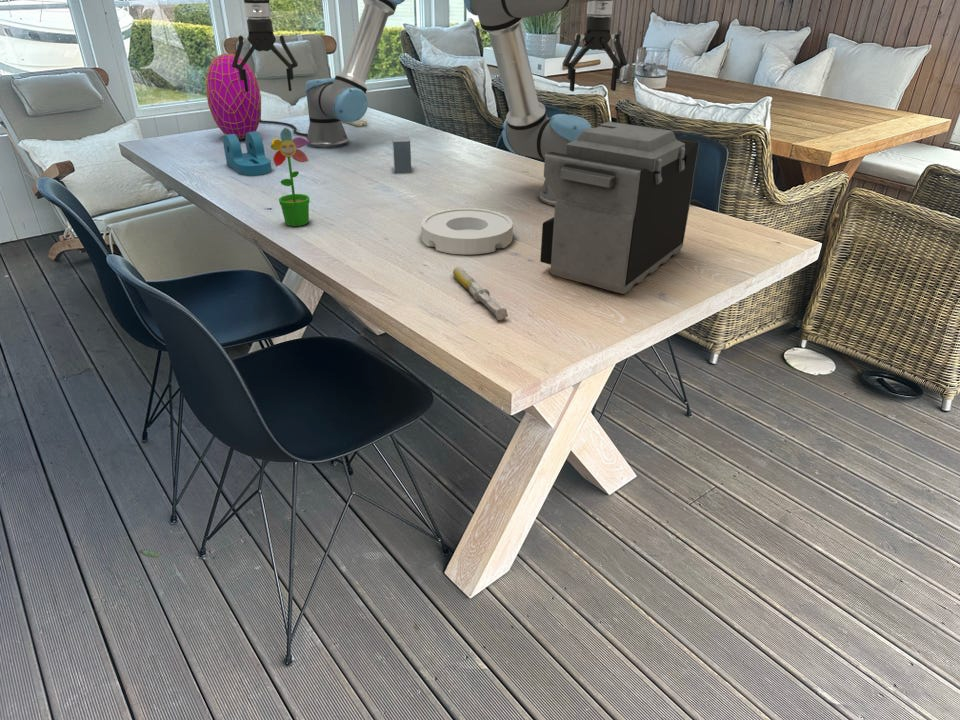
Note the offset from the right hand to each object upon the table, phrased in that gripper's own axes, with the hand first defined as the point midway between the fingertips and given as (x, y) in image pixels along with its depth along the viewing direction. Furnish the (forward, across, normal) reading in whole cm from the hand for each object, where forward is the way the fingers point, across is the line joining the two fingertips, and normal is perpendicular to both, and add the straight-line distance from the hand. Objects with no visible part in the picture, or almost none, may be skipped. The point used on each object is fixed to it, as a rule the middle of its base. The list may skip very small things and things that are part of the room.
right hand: (592, 90), depth 218 cm
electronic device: (+26, -16, -79) cm, 84 cm away
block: (+26, -61, +8) cm, 67 cm away
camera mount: (+26, -111, +15) cm, 115 cm away
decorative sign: (+26, -81, +89) cm, 123 cm away
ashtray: (+26, -48, -58) cm, 80 cm away
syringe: (+26, -51, -94) cm, 109 cm away
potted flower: (+26, -92, -41) cm, 104 cm away
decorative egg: (+26, -120, +60) cm, 137 cm away
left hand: (+2, -103, +22) cm, 105 cm away
